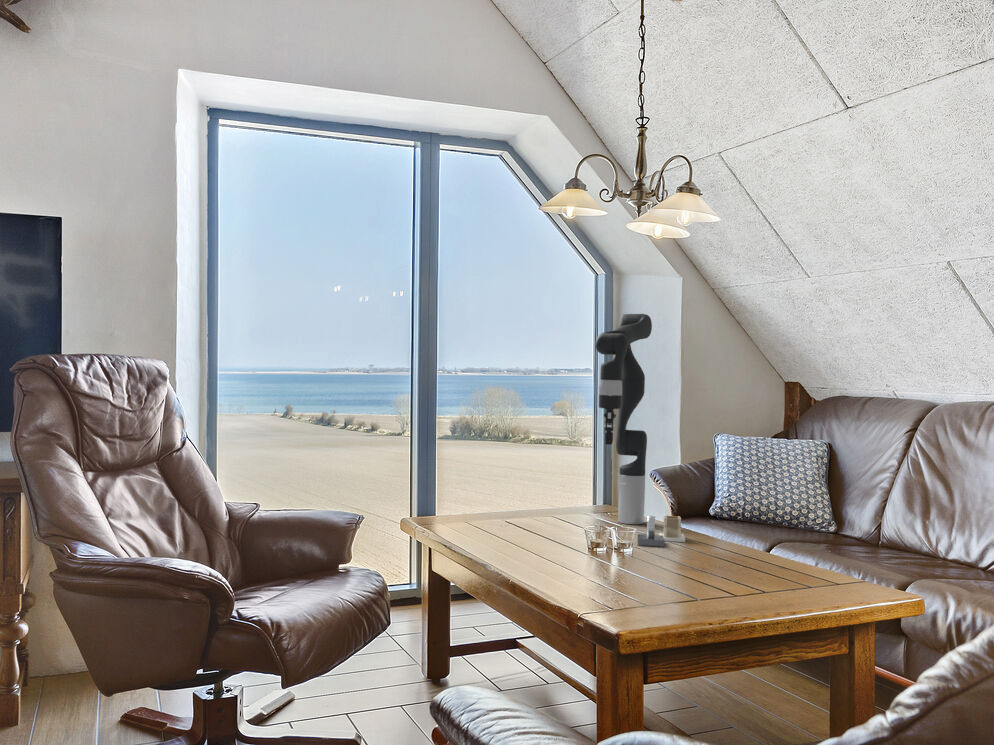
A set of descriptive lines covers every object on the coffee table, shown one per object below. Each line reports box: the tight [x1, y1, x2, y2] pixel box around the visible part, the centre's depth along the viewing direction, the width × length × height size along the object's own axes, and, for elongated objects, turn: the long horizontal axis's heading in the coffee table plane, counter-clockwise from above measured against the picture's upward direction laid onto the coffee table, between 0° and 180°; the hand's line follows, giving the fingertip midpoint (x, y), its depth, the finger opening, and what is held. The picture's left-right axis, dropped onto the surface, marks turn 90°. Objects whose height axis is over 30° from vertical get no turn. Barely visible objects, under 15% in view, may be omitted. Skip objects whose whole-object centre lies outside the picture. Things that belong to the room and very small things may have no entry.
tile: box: [658, 532, 686, 543], centre depth 267 cm, size 8×8×1 cm
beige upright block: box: [662, 515, 682, 538], centre depth 267 cm, size 5×5×6 cm
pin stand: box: [637, 515, 665, 548], centre depth 258 cm, size 8×8×8 cm
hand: (609, 443), depth 270 cm, fingers open, 8 cm apart
